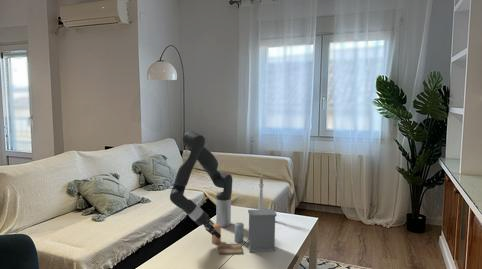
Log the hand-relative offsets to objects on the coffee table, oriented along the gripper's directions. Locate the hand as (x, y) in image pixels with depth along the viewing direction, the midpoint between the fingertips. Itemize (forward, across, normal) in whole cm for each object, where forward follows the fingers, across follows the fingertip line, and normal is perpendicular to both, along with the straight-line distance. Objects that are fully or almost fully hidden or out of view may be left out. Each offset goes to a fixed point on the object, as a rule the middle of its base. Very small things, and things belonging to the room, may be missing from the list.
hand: (219, 234), depth 192 cm
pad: (+7, -10, -1) cm, 12 cm away
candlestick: (+24, +35, -18) cm, 46 cm away
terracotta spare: (+2, 0, +4) cm, 5 cm away
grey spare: (+11, 0, -5) cm, 12 cm away
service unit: (+19, -10, -13) cm, 25 cm away
